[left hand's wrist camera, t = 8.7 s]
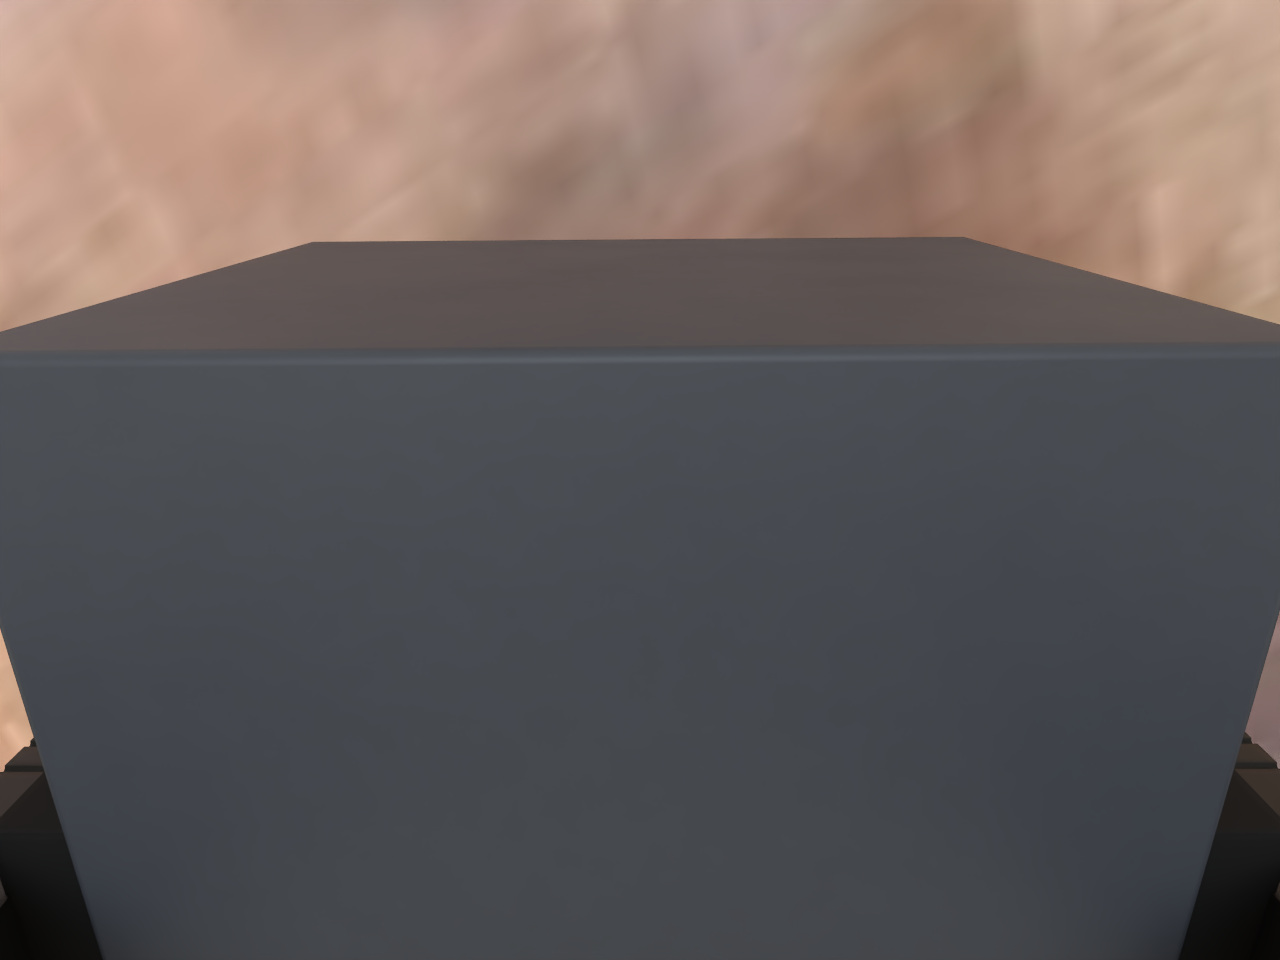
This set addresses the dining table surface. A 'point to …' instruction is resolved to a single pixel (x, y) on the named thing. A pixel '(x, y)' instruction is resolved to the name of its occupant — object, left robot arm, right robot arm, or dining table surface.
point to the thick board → (640, 600)
